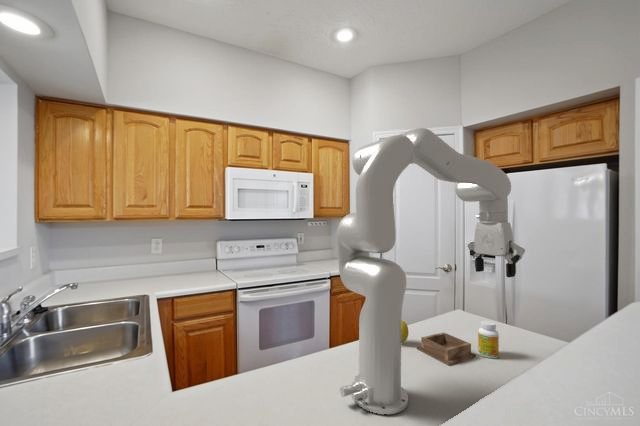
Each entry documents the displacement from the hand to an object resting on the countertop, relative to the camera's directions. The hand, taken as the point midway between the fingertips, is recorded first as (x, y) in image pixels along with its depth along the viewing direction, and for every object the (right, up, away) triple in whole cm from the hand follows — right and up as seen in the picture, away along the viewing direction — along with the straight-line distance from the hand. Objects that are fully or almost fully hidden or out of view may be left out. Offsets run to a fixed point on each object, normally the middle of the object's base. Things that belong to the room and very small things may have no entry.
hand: (494, 273), depth 90 cm
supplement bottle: (-2, -25, 0) cm, 25 cm away
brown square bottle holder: (-15, -25, +1) cm, 29 cm away
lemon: (-27, -25, +7) cm, 37 cm away
